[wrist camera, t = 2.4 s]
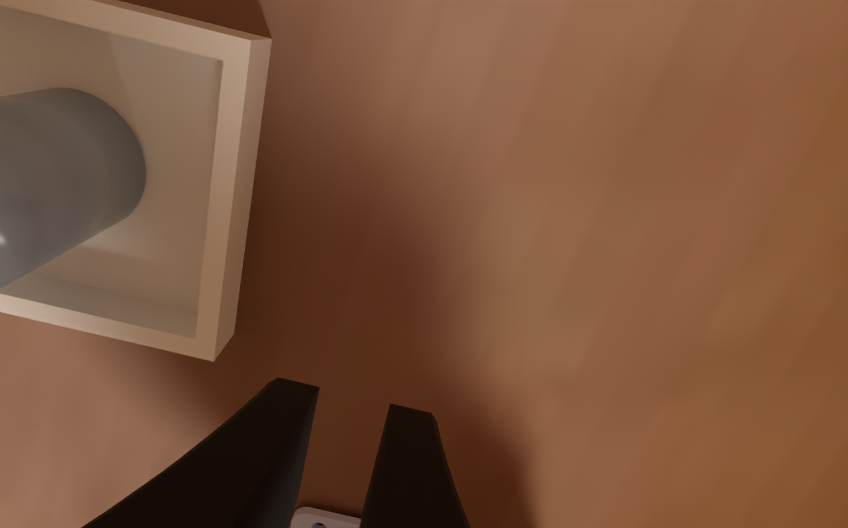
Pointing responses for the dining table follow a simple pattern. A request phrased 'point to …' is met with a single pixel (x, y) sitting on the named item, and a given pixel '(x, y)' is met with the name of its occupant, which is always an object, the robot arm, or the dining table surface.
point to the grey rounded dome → (61, 175)
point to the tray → (149, 168)
